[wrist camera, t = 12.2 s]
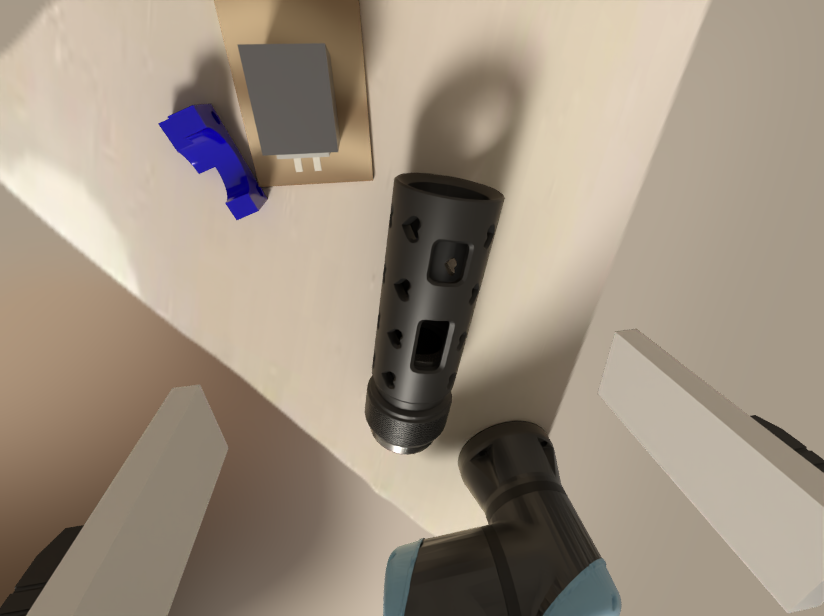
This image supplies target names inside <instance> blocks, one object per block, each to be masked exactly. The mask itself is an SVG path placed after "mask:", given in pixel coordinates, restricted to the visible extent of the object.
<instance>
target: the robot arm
mask: <svg viewBox="0 0 824 616" xmlns="http://www.w3.org/2000/svg"><path fill="white" fill-rule="evenodd" d="M598 395H599V396H600V397H601V398H602V399H603V401H604V402H605V403H606V404H607V405H608V406H609V407H610V409H611V410H612V411H613V412H614V413H615V414H616V416H617V417H618V418H619V419H620V420H621V421H622V422H623V424H624V425H625V426H626V427H627V428H628V429H629V431H630V432H631V433H632V434H633V435H634V436H635V438H636V439H637V440H638V441H639V442H640V443H641V445H642V446H643V447H644V448H645V449H646V450H647V451H648V453H650V455H651V456H652V457H653V458H654V460H655V461H656V462H657V463H658V464H659V465H660V466H661V467H662V469H663V470H664V471H665V472H666V473H667V474H668V476H669V477H670V478H671V479H672V480H673V482H675V484H676V485H677V486H678V487H679V488H680V490H681V491H682V492H683V493H684V494H685V495H686V497H687V498H688V499H689V500H690V501H691V502H692V503H693V505H694V506H695V507H696V508H697V509H698V510H699V512H700V513H701V514H702V515H703V516H704V517H705V518H706V520H707V521H708V522H709V523H710V524H711V525H712V527H713V528H714V529H715V530H716V531H717V532H718V533H719V535H720V536H721V537H722V538H723V539H724V540H725V542H726V543H727V544H728V545H729V546H730V547H731V549H732V550H733V551H734V552H735V553H736V554H737V555H738V557H739V558H740V559H741V560H742V561H743V562H744V563H745V565H746V566H747V567H748V568H749V569H750V570H751V572H752V573H753V574H754V575H755V576H756V577H757V579H758V580H759V581H760V582H761V583H762V584H763V586H764V587H765V588H766V589H767V590H768V591H769V592H770V594H771V595H772V596H773V597H774V598H775V599H776V600H777V602H778V603H779V604H780V605H781V606H782V608H783V609H784V610H785V611H786V612H787V613H792V612H795V611H800V610H805V609H809V608H813V607H817V606H820V605H821V604H822V603H824V460H823V459H822V458H821V457H819V456H818V455H817V454H815V453H814V452H813V451H808V450H807V449H806V446H804V445H803V444H802V443H800V442H799V441H798V440H796V439H795V438H794V437H792V436H791V435H790V434H788V433H787V432H785V431H784V430H783V429H781V428H779V427H777V426H775V425H773V424H771V423H770V422H768V421H765V420H763V419H762V418H760V417H758V416H756V415H753V416H749V415H748V414H746V413H745V412H744V411H742V410H741V409H740V408H738V407H737V406H736V405H735V404H733V403H732V402H731V401H729V400H728V399H727V398H726V397H724V396H723V395H722V394H720V393H719V392H718V391H716V390H715V389H714V388H713V387H711V386H710V385H709V384H707V383H706V382H705V381H704V380H702V379H701V378H700V377H698V376H697V375H696V374H694V373H693V372H692V371H690V370H689V369H688V368H687V367H685V366H684V365H683V364H681V363H680V362H679V361H678V360H676V359H675V358H674V357H672V356H671V355H670V354H668V353H667V352H666V351H665V350H663V349H662V348H661V347H659V346H658V345H657V344H655V343H654V342H653V341H651V340H650V339H649V338H647V337H646V336H645V335H644V334H642V333H641V332H640V331H639V330H637V329H632V330H623V331H616V332H615V334H614V337H613V341H612V345H611V348H610V351H609V355H608V358H607V362H606V366H605V369H604V372H603V376H602V380H601V383H600V387H599V390H598ZM227 451H228V446H227V444H226V441H225V439H224V437H223V435H222V432H221V430H220V428H219V426H218V423H217V422H216V419H215V417H214V414H213V412H212V410H211V408H210V406H209V403H208V401H207V399H206V397H205V395H204V392H203V390H202V388H201V386H200V385H194V386H186V387H178V388H173V389H172V390H171V391H170V393H169V395H168V396H167V397H166V399H165V401H164V402H163V404H162V405H161V407H160V408H159V410H158V411H157V413H156V415H155V416H154V418H153V419H152V421H151V423H150V424H149V426H148V427H147V429H146V430H145V432H144V433H143V435H142V436H141V438H140V439H139V441H138V443H137V444H136V446H135V447H134V449H133V450H132V452H131V453H130V455H129V457H128V458H127V460H126V461H125V463H124V465H123V466H122V467H121V469H120V471H119V472H118V474H117V475H116V477H115V478H114V480H113V481H112V483H111V485H110V486H109V488H108V489H107V491H106V492H105V494H104V495H103V497H102V498H101V500H100V502H99V503H98V505H97V506H96V508H95V509H94V511H93V512H92V514H91V516H90V517H89V519H88V520H87V522H86V523H85V525H83V526H76V527H70V528H65V529H64V530H63V531H62V532H61V533H60V534H59V535H58V536H57V537H56V538H55V539H54V540H53V541H52V542H51V543H50V544H49V545H48V546H47V547H46V548H45V549H44V550H42V551H41V553H39V554H38V555H37V556H36V558H35V559H34V561H33V562H32V564H31V565H30V566H29V568H28V569H27V571H26V572H25V573H24V575H23V576H22V578H21V579H20V580H19V582H18V583H17V585H16V586H15V591H14V593H13V594H10V595H9V596H8V597H7V599H6V600H5V602H4V603H3V605H2V606H1V608H0V616H167V615H168V613H169V610H170V607H171V604H172V601H173V599H174V596H175V593H176V590H177V588H178V585H179V582H180V579H181V577H182V574H183V571H184V569H185V566H186V563H187V560H188V558H189V555H190V552H191V549H192V547H193V544H194V541H195V538H196V536H197V533H198V530H199V527H200V525H201V522H202V519H203V516H204V514H205V511H206V508H207V505H208V503H209V500H210V497H211V495H212V492H213V489H214V486H215V483H216V481H217V478H218V475H219V472H220V469H221V467H222V464H223V461H224V459H225V456H226V453H227ZM458 466H459V470H460V473H461V477H462V479H463V482H464V483H465V485H466V486H467V488H468V489H469V491H470V492H471V494H472V495H473V496H474V498H475V499H476V501H477V502H478V504H479V505H480V507H481V508H482V509H483V511H484V512H485V515H486V518H487V521H488V524H489V525H486V526H482V527H477V528H472V529H468V530H464V531H459V532H455V533H451V534H446V535H442V536H438V537H433V538H428V539H425V538H421V539H420V540H419V541H416V542H413V543H410V544H406V545H403V546H400V547H398V548H396V549H395V550H394V551H393V552H392V553H391V555H390V557H389V559H388V563H387V567H386V573H385V583H384V604H383V606H384V607H383V608H384V609H383V616H619V615H620V611H621V598H620V595H619V592H618V590H617V588H616V586H615V584H614V582H613V580H612V578H611V576H610V574H609V572H608V570H607V568H606V562H605V561H604V559H603V558H601V556H600V554H599V552H598V550H597V548H596V547H595V545H594V543H593V541H592V539H591V538H590V536H589V534H588V532H587V531H586V529H585V527H584V525H583V523H582V521H581V520H580V518H579V516H578V514H577V512H576V511H575V509H574V507H573V505H572V503H571V501H570V500H569V498H568V496H567V495H566V493H565V491H564V489H563V487H562V485H561V481H560V476H559V471H558V466H557V461H556V456H555V451H554V448H553V445H552V443H551V441H550V439H549V437H548V436H547V434H546V432H545V431H544V430H543V429H542V428H541V427H539V426H537V425H535V424H533V423H529V422H520V421H518V422H507V423H502V424H498V425H495V426H493V427H490V428H488V429H486V430H484V431H482V432H480V433H479V434H477V435H476V436H474V437H473V438H472V439H471V440H470V441H469V442H468V443H467V444H466V445H465V446H464V447H463V449H462V451H461V453H460V455H459V458H458Z"/></svg>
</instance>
